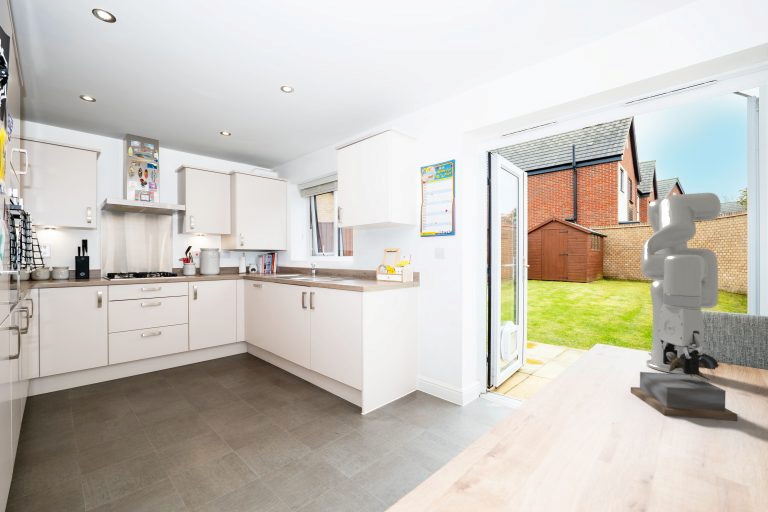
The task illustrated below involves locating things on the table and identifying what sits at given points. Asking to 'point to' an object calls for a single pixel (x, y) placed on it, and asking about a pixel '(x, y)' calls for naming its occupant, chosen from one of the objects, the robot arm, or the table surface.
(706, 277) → the robot arm
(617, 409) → the table surface
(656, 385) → the pedestal
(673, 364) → the eagle figurine
